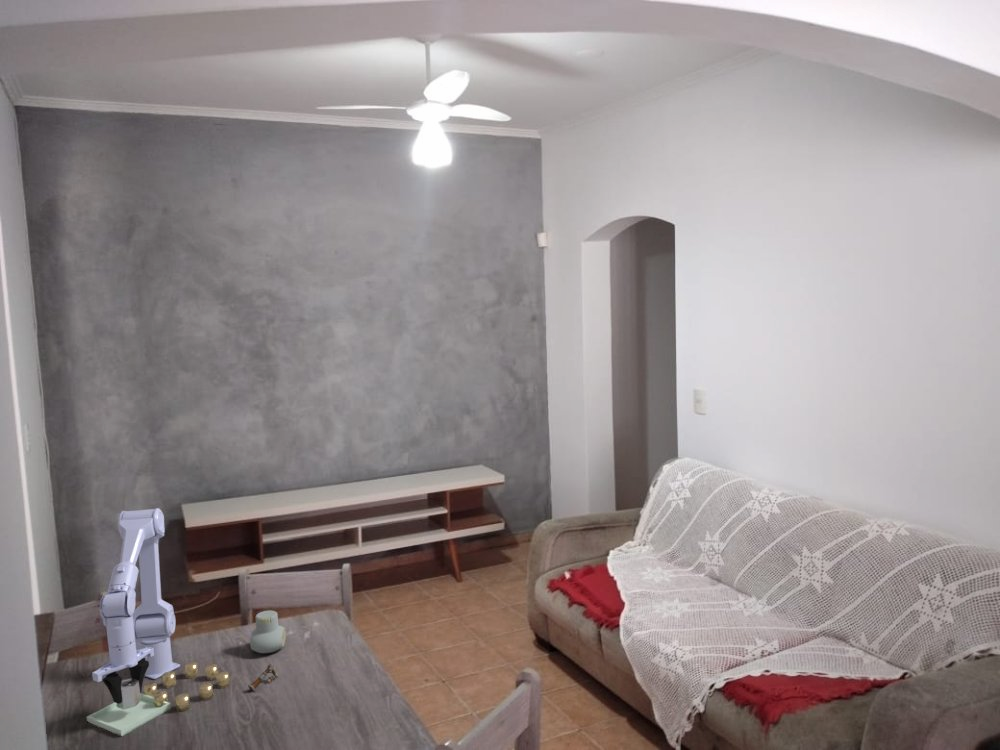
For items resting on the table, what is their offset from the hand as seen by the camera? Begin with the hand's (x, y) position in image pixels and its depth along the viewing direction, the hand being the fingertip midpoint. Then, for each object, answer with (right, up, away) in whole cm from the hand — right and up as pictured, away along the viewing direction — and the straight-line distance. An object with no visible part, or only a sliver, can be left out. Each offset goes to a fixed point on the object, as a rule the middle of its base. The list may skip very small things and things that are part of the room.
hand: (127, 697), depth 187 cm
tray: (0, -5, +1) cm, 5 cm away
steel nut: (0, -2, 0) cm, 2 cm away
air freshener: (+24, 0, +33) cm, 40 cm away
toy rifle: (+28, -2, +13) cm, 31 cm away
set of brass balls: (+10, -3, +11) cm, 15 cm away
